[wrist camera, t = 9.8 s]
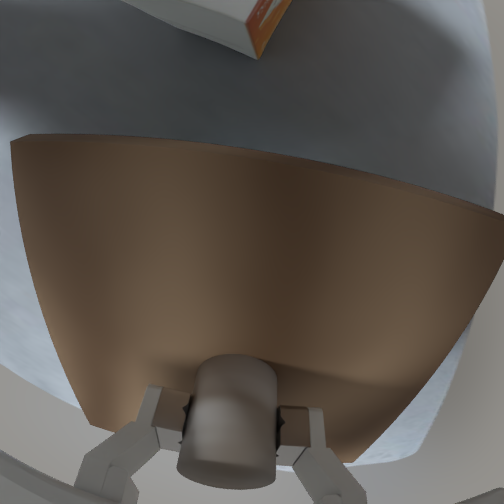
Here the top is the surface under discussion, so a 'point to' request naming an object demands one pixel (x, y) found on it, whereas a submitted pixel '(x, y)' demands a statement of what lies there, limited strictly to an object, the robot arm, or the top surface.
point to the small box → (221, 20)
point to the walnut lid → (245, 288)
